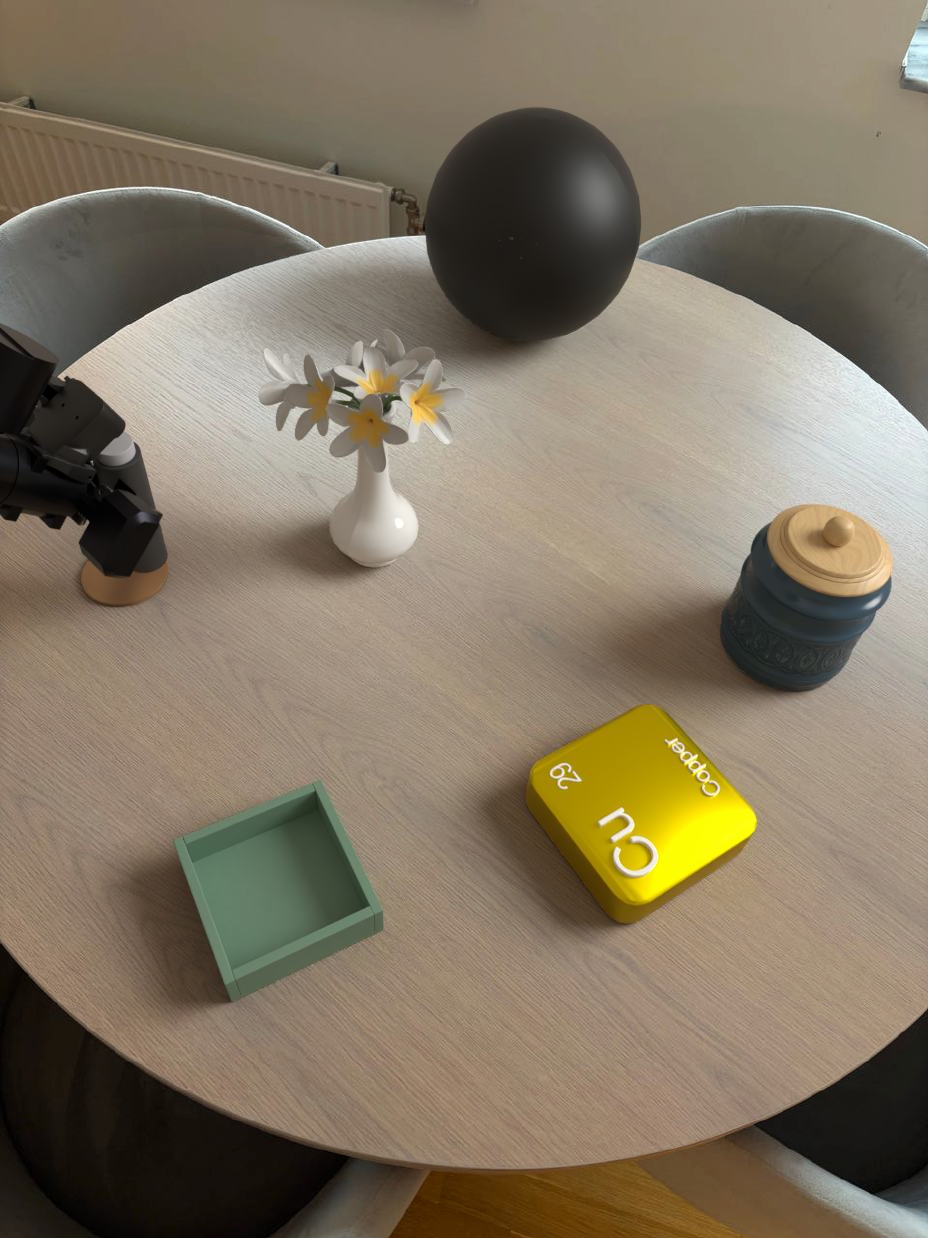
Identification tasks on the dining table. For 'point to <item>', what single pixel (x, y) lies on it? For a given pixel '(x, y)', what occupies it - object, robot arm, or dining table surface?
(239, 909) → the box
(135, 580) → the coaster
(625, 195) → the ball
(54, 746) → the dining table surface
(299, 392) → the flower vase
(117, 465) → the salt mill
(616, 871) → the element tile
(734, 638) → the canister
